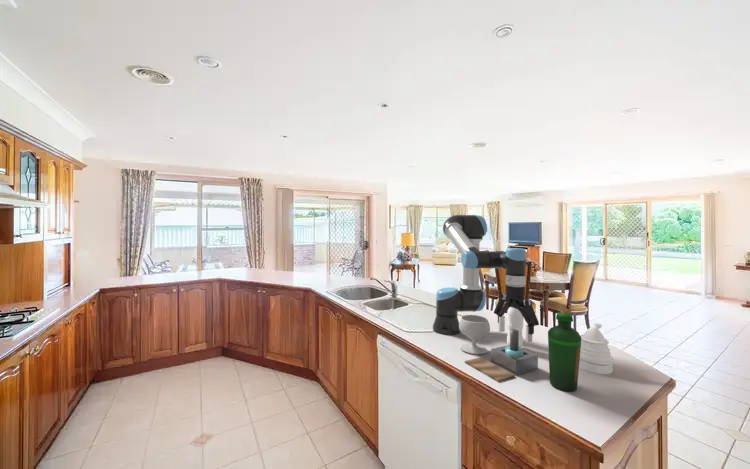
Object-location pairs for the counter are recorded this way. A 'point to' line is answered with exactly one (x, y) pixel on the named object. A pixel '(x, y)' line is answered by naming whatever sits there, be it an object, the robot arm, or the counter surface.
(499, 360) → the box
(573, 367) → the bottle
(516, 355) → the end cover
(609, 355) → the honey pot
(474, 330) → the chalice
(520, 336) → the water bottle
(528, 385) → the counter surface
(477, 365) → the walnut mat
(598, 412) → the counter surface
